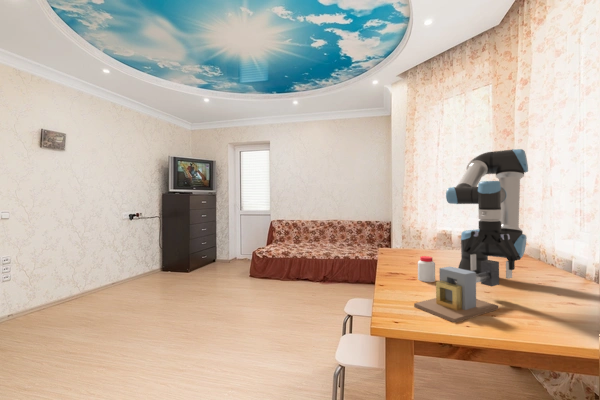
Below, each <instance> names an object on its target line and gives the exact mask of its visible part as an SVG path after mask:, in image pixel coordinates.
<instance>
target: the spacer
mask: <svg viewBox="0 0 600 400" xmlns="http://www.w3.org/2000/svg"><path fill="white" fill-rule="evenodd" d="M445 289H449V290H452V301H453V302H452V301H449V300H446V299H445ZM435 292H436V293H435V294H436V295H435V298H436V304H439V305H442V306H445V307H447V308H450V309H453V310H456V311H458V310H461V309H462V286H460V285H456V284H452V283H449V282H445V281H440V280H438V281H435Z"/></svg>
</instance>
